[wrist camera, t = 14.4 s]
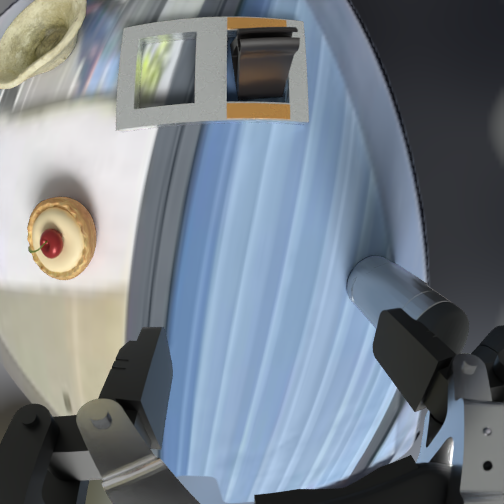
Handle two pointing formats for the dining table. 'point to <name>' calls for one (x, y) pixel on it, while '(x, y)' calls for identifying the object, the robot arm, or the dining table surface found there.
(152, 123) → the white slotted tray
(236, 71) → the phone stand
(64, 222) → the pastry
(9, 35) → the bowl
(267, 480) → the dining table surface
